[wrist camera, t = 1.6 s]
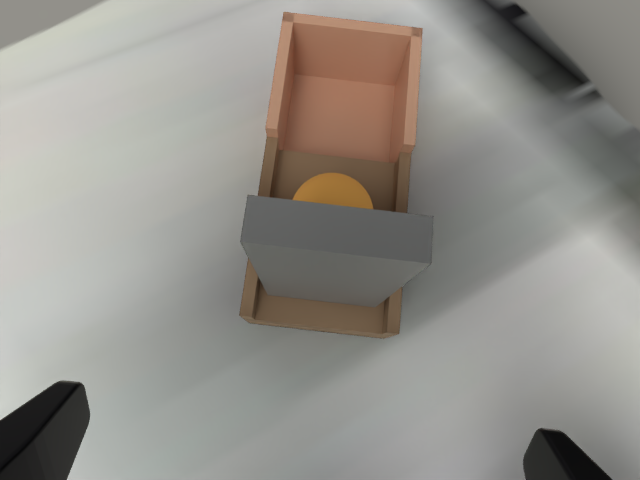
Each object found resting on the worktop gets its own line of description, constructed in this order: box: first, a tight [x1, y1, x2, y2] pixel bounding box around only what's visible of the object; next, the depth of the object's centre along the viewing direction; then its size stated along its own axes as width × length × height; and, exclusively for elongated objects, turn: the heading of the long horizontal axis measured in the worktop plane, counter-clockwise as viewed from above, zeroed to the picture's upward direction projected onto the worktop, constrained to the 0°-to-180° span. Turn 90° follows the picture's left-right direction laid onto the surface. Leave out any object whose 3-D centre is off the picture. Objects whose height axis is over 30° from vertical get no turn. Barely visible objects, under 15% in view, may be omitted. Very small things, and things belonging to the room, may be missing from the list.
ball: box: [293, 173, 373, 209], centre depth 19 cm, size 4×4×4 cm
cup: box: [266, 12, 423, 163], centre depth 23 cm, size 6×6×4 cm
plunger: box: [240, 195, 434, 307], centre depth 16 cm, size 1×5×9 cm, turn 84°
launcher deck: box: [239, 137, 411, 339], centre depth 22 cm, size 8×6×4 cm
